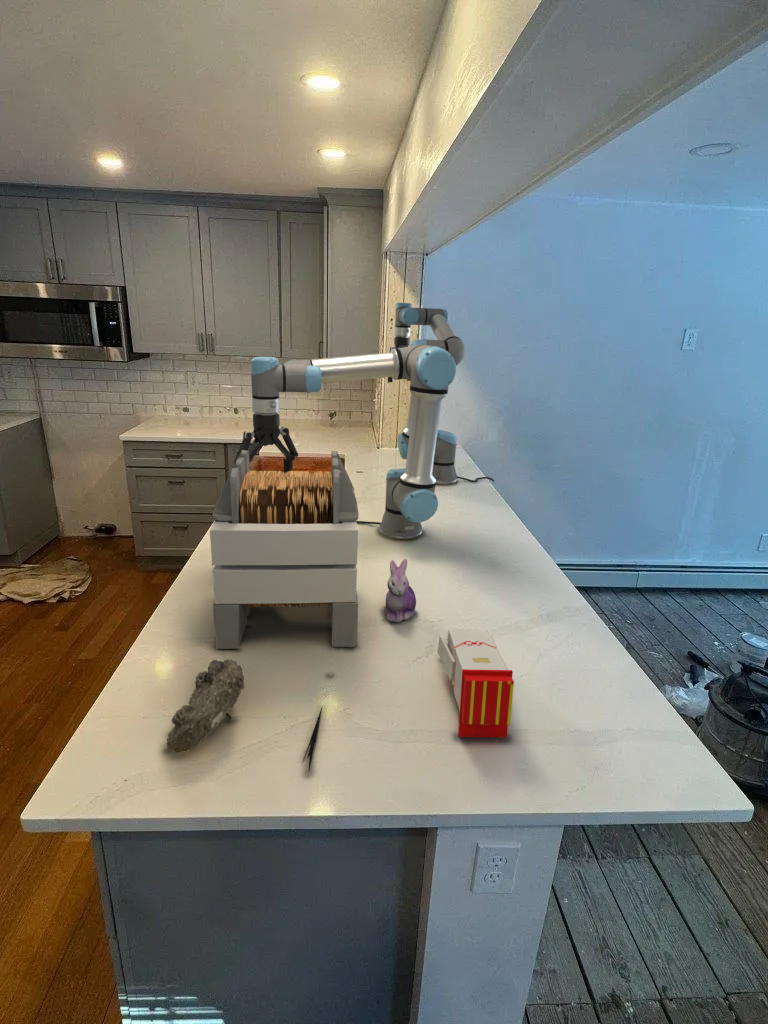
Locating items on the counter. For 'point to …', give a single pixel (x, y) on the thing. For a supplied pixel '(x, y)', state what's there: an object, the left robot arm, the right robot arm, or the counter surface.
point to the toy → (478, 682)
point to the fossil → (206, 705)
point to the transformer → (285, 547)
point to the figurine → (399, 594)
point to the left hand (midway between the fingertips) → (268, 484)
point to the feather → (313, 740)
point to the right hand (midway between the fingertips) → (399, 381)
